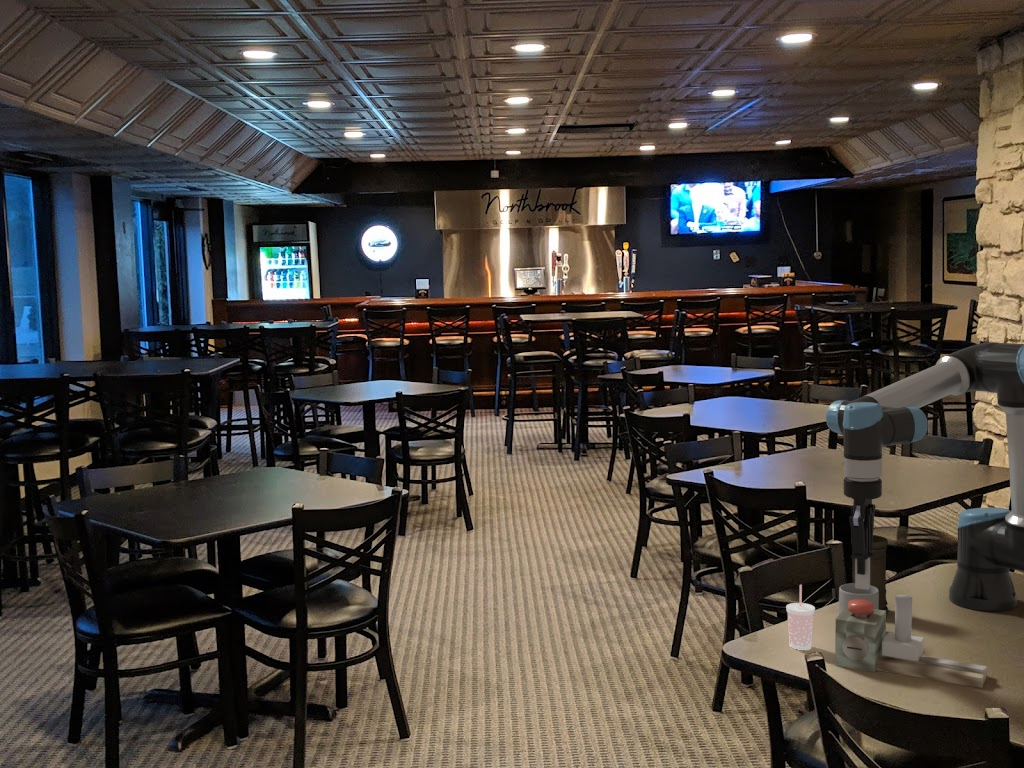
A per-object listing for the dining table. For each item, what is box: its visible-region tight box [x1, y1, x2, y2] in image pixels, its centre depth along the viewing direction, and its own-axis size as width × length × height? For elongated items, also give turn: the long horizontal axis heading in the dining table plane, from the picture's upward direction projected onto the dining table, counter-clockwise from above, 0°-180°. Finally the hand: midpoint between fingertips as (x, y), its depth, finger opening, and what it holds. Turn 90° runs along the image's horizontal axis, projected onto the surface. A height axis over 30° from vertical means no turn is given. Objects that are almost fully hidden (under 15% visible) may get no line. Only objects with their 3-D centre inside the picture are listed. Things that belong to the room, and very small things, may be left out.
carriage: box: [882, 594, 925, 661], centre depth 212 cm, size 7×6×12 cm
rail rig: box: [834, 605, 988, 689], centre depth 212 cm, size 28×11×10 cm, turn 58°
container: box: [850, 534, 889, 615], centre depth 247 cm, size 9×9×18 cm
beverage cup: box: [785, 584, 816, 651], centre depth 226 cm, size 6×6×14 cm
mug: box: [838, 582, 879, 615], centre depth 233 cm, size 12×8×11 cm
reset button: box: [848, 599, 874, 619], centre depth 217 cm, size 5×5×6 cm
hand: (862, 587), depth 216 cm, fingers closed
